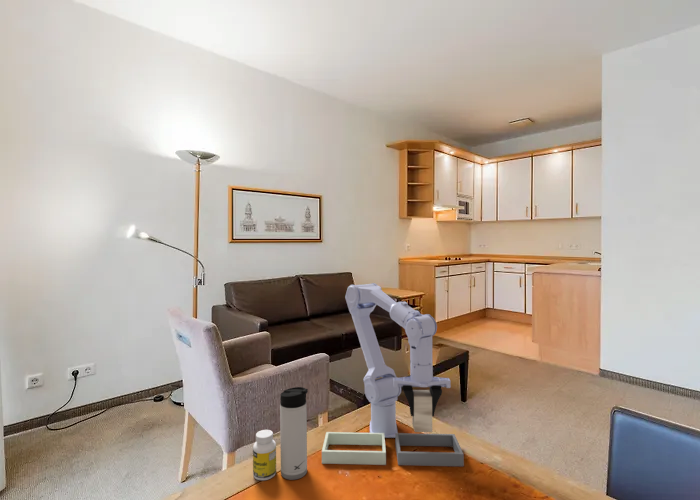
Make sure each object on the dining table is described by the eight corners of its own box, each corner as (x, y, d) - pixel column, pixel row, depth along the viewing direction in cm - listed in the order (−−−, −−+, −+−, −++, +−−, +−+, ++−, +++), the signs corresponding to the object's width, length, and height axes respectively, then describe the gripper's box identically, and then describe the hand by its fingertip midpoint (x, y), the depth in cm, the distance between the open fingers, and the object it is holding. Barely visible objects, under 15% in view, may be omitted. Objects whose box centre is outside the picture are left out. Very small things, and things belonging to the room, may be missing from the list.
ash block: (412, 423, 99) (412, 389, 99) (429, 423, 98) (429, 390, 99) (414, 431, 94) (414, 396, 94) (432, 432, 94) (432, 396, 94)
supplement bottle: (248, 477, 87) (247, 435, 87) (263, 465, 92) (263, 426, 92) (266, 484, 85) (265, 441, 85) (281, 471, 90) (280, 430, 90)
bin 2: (395, 444, 102) (395, 433, 102) (454, 445, 101) (454, 434, 101) (398, 465, 92) (398, 452, 92) (463, 466, 91) (463, 454, 91)
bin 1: (326, 442, 103) (326, 432, 103) (384, 443, 102) (384, 432, 102) (321, 463, 93) (321, 451, 93) (385, 464, 92) (385, 452, 92)
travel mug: (303, 482, 85) (302, 395, 85) (276, 478, 87) (275, 393, 87) (311, 466, 91) (311, 385, 92) (286, 463, 93) (285, 383, 93)
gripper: (394, 366, 93) (395, 421, 93) (453, 367, 92) (453, 421, 92) (392, 358, 100) (393, 409, 100) (447, 358, 99) (447, 409, 99)
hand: (421, 414), depth 96 cm, fingers closed on ash block, 4 cm apart
